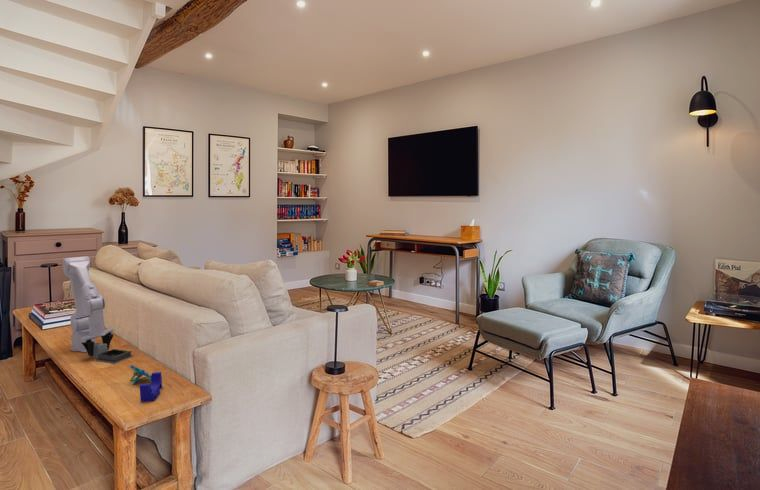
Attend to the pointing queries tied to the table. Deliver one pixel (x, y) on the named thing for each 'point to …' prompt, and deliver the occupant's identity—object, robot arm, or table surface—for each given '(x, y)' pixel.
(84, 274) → the robot arm
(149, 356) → the table surface
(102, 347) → the block
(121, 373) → the table surface
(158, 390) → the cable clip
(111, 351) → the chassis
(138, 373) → the teal irregular piece
